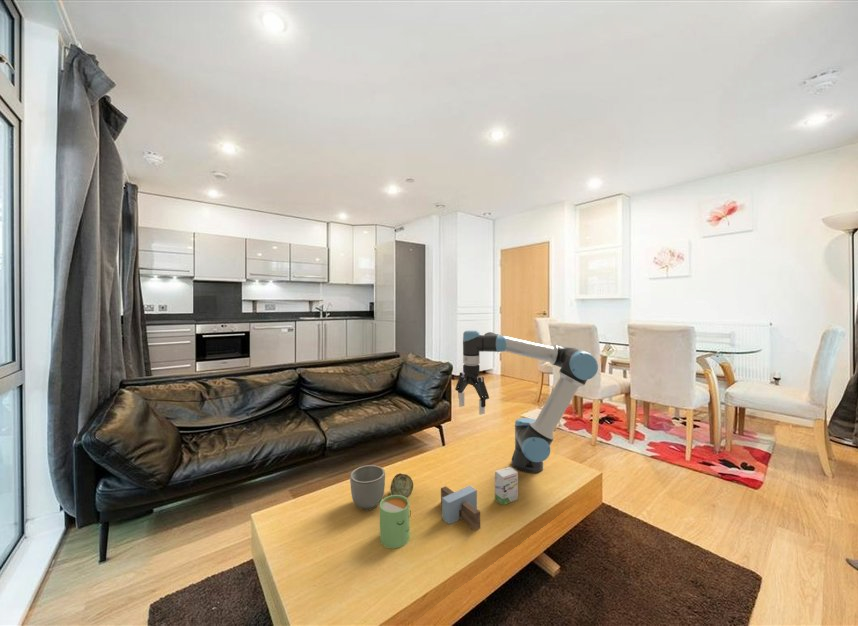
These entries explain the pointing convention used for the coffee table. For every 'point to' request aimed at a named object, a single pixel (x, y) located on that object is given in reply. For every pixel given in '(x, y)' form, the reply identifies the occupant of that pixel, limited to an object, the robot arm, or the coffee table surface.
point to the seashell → (401, 485)
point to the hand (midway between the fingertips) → (471, 410)
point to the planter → (367, 486)
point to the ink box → (506, 485)
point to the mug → (394, 521)
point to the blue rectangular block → (457, 503)
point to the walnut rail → (465, 511)
